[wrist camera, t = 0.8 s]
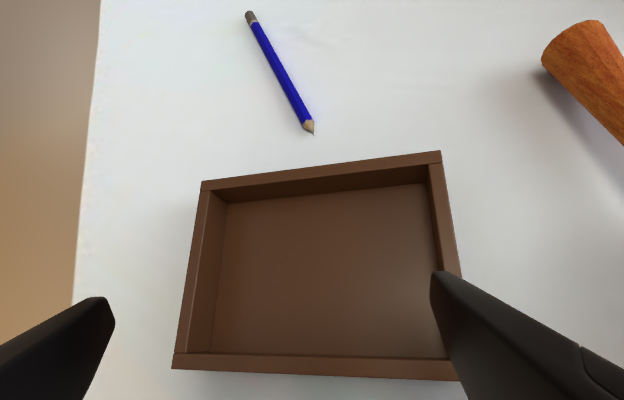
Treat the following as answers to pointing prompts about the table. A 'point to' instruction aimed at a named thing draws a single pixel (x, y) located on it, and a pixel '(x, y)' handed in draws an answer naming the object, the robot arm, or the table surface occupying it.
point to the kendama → (590, 72)
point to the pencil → (280, 73)
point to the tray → (320, 271)
